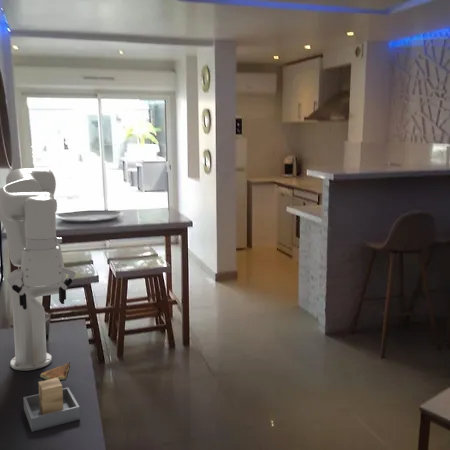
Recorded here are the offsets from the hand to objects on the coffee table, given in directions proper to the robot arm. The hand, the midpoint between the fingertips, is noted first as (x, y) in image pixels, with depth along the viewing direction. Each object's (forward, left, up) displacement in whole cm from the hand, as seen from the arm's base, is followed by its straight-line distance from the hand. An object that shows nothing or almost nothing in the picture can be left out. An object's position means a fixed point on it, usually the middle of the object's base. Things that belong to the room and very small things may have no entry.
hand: (43, 305), depth 135 cm
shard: (-16, +5, -28) cm, 33 cm away
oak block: (+8, -1, -27) cm, 28 cm away
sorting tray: (+8, -1, -28) cm, 29 cm away
